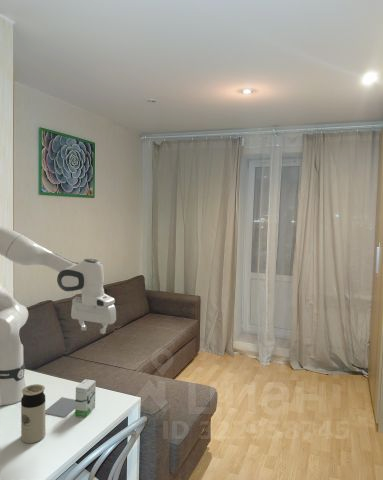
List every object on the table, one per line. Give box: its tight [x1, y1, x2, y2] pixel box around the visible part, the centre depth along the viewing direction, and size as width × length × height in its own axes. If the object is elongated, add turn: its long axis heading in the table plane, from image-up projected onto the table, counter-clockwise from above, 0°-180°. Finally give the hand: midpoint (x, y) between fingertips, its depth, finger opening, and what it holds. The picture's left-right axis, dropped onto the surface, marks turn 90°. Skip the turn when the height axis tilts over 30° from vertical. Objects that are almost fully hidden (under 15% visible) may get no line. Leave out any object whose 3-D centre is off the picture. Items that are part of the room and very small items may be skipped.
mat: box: [45, 396, 76, 418], centre depth 156 cm, size 10×13×1 cm
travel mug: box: [20, 384, 46, 444], centre depth 135 cm, size 8×8×18 cm
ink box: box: [74, 378, 97, 419], centre depth 153 cm, size 9×5×12 cm, turn 168°
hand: (93, 331), depth 155 cm, fingers open, 8 cm apart
